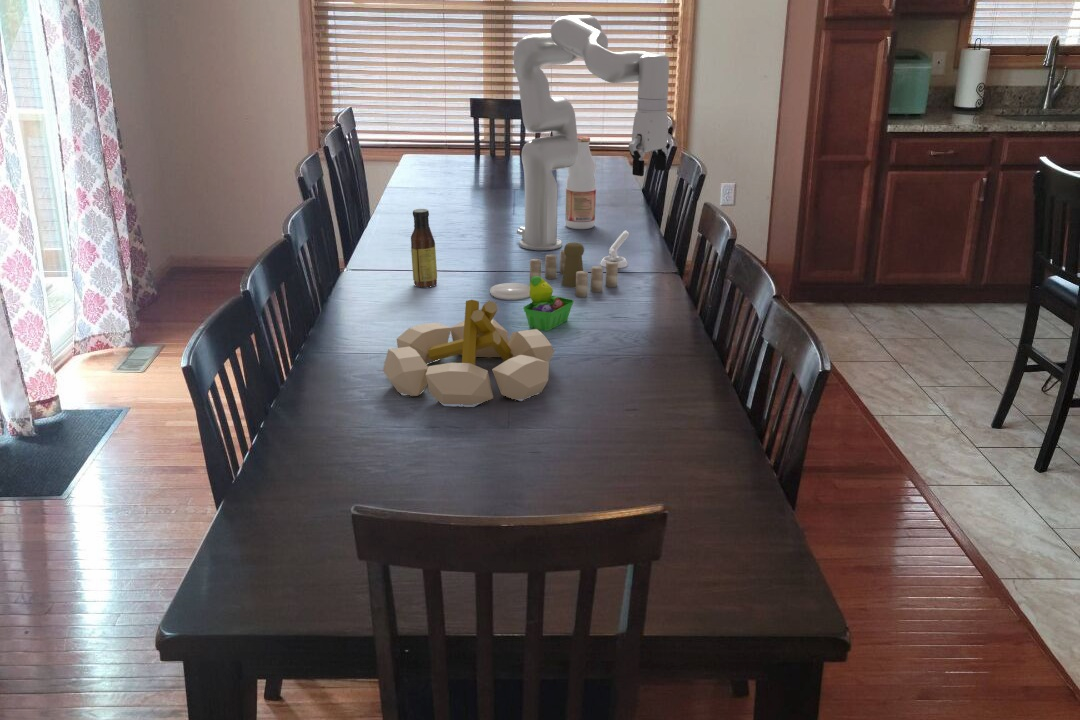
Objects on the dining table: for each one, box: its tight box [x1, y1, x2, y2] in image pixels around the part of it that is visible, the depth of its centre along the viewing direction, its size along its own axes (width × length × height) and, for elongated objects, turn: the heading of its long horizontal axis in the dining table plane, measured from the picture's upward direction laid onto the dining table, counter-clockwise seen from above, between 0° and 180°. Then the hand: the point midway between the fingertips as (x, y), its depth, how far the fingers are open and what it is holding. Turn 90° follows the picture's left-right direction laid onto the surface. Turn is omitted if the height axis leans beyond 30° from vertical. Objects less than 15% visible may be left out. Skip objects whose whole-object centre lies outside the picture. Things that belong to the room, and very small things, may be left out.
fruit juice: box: [565, 135, 597, 230], centre depth 328 cm, size 9×9×28 cm
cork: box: [561, 242, 585, 288], centre depth 274 cm, size 6×6×11 cm
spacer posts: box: [529, 249, 619, 298], centre depth 275 cm, size 19×15×6 cm
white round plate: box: [489, 282, 530, 301], centre depth 268 cm, size 11×11×1 cm
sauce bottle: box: [410, 208, 438, 288], centre depth 270 cm, size 7×6×20 cm
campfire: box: [382, 299, 555, 405], centre depth 213 cm, size 35×34×17 cm
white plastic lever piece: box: [600, 230, 630, 269], centre depth 292 cm, size 8×12×7 cm
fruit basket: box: [523, 276, 574, 332], centre depth 244 cm, size 11×9×11 cm
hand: (649, 172), depth 271 cm, fingers open, 9 cm apart
